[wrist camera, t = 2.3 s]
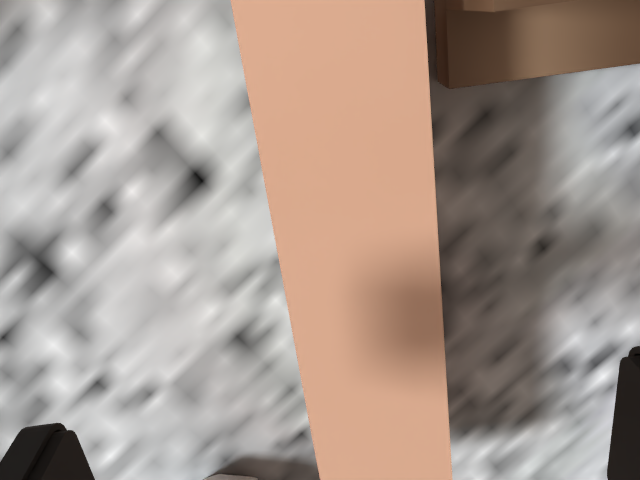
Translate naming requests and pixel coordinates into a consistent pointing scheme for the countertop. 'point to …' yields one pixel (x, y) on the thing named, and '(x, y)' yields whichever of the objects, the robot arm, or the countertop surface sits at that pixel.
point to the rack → (532, 38)
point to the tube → (229, 477)
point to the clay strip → (355, 224)
